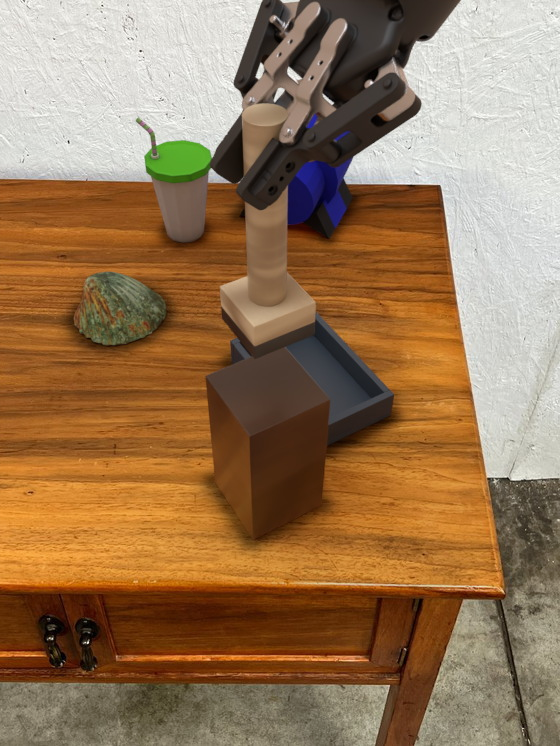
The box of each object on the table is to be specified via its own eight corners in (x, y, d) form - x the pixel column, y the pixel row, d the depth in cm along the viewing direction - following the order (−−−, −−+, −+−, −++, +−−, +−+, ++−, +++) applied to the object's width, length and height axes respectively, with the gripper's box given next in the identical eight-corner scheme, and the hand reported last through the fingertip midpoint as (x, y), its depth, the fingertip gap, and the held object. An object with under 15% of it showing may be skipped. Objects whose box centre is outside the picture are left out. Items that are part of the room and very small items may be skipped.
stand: (322, 505, 68) (330, 399, 58) (253, 540, 66) (249, 436, 56) (281, 451, 72) (282, 343, 62) (214, 482, 70) (204, 375, 60)
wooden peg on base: (314, 334, 54) (325, 121, 42) (254, 359, 52) (248, 144, 41) (279, 296, 57) (280, 86, 45) (221, 318, 55) (206, 106, 44)
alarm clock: (354, 195, 102) (363, 86, 91) (323, 248, 94) (330, 135, 83) (268, 176, 105) (267, 68, 94) (231, 226, 97) (225, 114, 86)
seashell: (99, 327, 78) (51, 278, 83) (102, 358, 80) (56, 308, 86) (182, 292, 83) (131, 248, 88) (182, 322, 85) (134, 278, 91)
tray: (391, 415, 76) (394, 394, 73) (305, 457, 72) (306, 435, 70) (311, 328, 84) (312, 307, 82) (231, 361, 80) (229, 340, 78)
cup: (230, 228, 97) (224, 116, 86) (188, 259, 92) (176, 145, 81) (183, 206, 100) (172, 95, 89) (140, 235, 96) (123, 122, 85)
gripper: (317, -160, 42) (138, 107, 46) (491, -92, 34) (253, 225, 38) (386, -68, 48) (221, 162, 52) (550, 9, 39) (337, 275, 44)
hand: (235, 187), depth 45 cm, fingers closed on wooden peg on base, 2 cm apart
